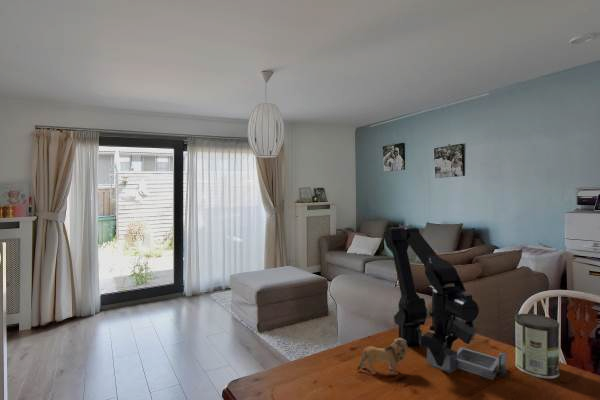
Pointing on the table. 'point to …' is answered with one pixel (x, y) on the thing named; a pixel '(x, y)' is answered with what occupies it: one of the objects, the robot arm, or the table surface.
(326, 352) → the table surface
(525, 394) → the table surface
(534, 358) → the coffee can
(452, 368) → the block
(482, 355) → the keeper cradle
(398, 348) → the lion figurine
